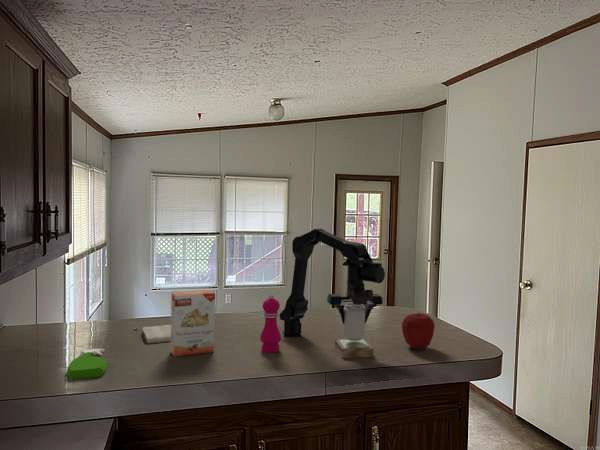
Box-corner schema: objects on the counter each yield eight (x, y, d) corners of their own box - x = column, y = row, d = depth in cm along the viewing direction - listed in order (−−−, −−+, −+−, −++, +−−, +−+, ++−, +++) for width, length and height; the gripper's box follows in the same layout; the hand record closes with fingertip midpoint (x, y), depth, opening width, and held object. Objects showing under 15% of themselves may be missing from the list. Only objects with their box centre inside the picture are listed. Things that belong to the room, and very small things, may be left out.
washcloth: (171, 329, 191) (171, 322, 191) (180, 341, 175) (180, 333, 175) (140, 332, 186) (140, 325, 186) (146, 345, 170) (146, 337, 170)
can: (363, 342, 161) (364, 307, 160) (341, 340, 162) (342, 306, 162) (365, 336, 168) (366, 303, 167) (344, 334, 170) (345, 301, 169)
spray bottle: (64, 382, 134) (73, 356, 157) (106, 377, 138) (108, 353, 161) (64, 371, 134) (73, 348, 157) (105, 367, 138) (108, 344, 161)
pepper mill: (283, 348, 168) (284, 293, 167) (276, 354, 161) (277, 296, 160) (265, 346, 170) (266, 291, 170) (256, 351, 164) (257, 295, 163)
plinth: (342, 357, 159) (342, 348, 159) (334, 347, 170) (335, 338, 170) (373, 357, 161) (373, 347, 160) (364, 347, 171) (364, 338, 171)
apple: (412, 341, 180) (413, 306, 180) (440, 348, 172) (441, 312, 171) (394, 347, 172) (395, 311, 171) (423, 355, 164) (424, 317, 163)
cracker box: (174, 357, 156) (174, 295, 155) (170, 352, 161) (170, 292, 160) (214, 352, 162) (215, 292, 161) (209, 347, 168) (210, 289, 167)
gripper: (334, 283, 155) (333, 330, 156) (388, 283, 157) (387, 329, 158) (327, 277, 166) (326, 321, 167) (378, 278, 168) (376, 320, 169)
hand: (354, 323), depth 165 cm, fingers closed on can, 7 cm apart
